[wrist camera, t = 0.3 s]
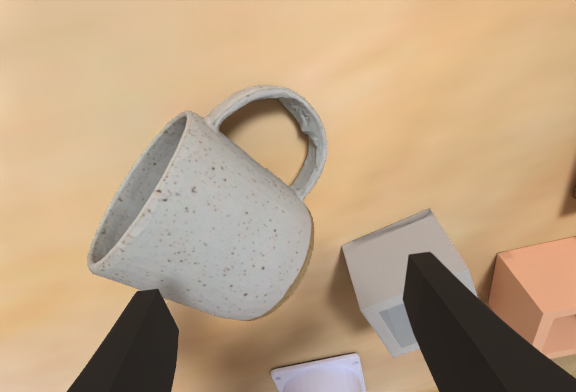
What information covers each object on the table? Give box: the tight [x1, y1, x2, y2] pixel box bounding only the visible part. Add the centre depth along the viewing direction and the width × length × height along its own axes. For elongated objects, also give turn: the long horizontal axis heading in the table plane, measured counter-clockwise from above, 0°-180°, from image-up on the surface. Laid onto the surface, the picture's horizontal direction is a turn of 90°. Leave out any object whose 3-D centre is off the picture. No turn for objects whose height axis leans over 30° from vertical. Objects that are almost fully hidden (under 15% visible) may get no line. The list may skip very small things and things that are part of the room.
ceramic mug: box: [87, 85, 327, 321], centre depth 16 cm, size 11×8×8 cm
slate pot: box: [342, 208, 477, 358], centre depth 23 cm, size 6×6×5 cm
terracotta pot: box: [488, 237, 576, 359], centre depth 25 cm, size 6×6×5 cm
